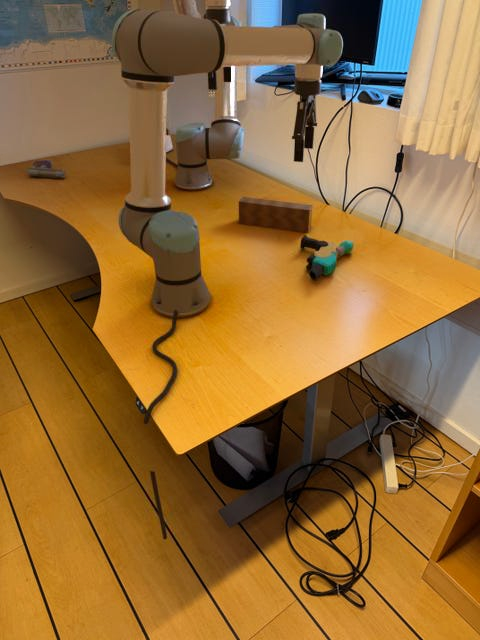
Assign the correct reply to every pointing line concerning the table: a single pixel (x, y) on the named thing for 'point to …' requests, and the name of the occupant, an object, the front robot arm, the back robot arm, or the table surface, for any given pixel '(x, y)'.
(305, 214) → the bar
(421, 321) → the table surface
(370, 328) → the table surface
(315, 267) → the toy gun
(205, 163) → the back robot arm
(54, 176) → the toy gun
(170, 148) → the sneaker
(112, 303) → the table surface
